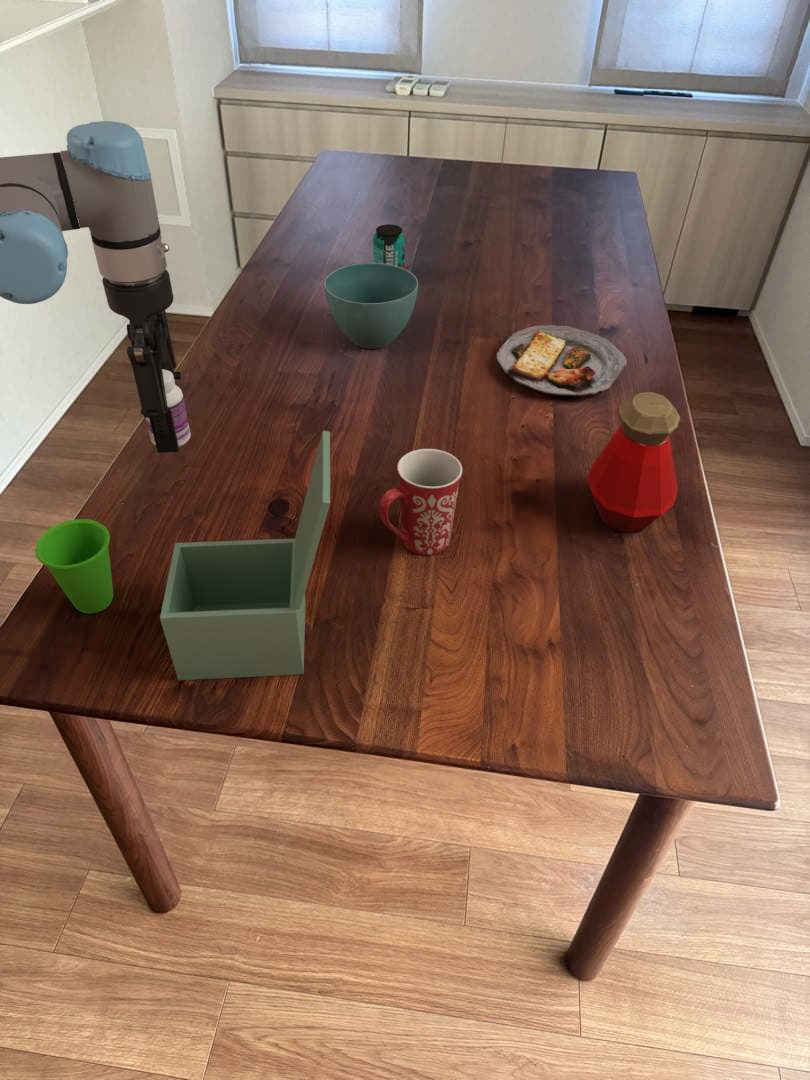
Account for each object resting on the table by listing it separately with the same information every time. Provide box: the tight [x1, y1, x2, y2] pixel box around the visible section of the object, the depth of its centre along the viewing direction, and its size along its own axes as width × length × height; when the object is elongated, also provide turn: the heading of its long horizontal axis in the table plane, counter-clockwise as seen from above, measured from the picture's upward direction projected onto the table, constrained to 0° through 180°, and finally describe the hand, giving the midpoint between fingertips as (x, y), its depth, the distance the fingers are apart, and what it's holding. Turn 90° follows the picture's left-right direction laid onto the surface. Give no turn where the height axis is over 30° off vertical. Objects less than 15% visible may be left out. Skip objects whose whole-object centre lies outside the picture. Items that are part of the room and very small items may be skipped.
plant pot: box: [323, 262, 419, 350], centre depth 158 cm, size 18×18×12 cm
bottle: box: [586, 391, 681, 534], centre depth 117 cm, size 16×14×20 cm
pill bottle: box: [144, 369, 192, 448], centre depth 104 cm, size 5×5×10 cm
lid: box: [293, 430, 331, 610], centre depth 91 cm, size 17×13×1 cm
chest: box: [159, 538, 306, 681], centre depth 100 cm, size 16×13×12 cm
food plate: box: [495, 324, 627, 398], centre depth 154 cm, size 25×23×4 cm
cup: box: [35, 518, 114, 615], centre depth 105 cm, size 9×9×11 cm
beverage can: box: [372, 223, 406, 269], centre depth 177 cm, size 7×7×12 cm
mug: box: [378, 448, 463, 556], centre depth 113 cm, size 13×9×14 cm
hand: (171, 436), depth 107 cm, fingers closed on pill bottle, 5 cm apart
